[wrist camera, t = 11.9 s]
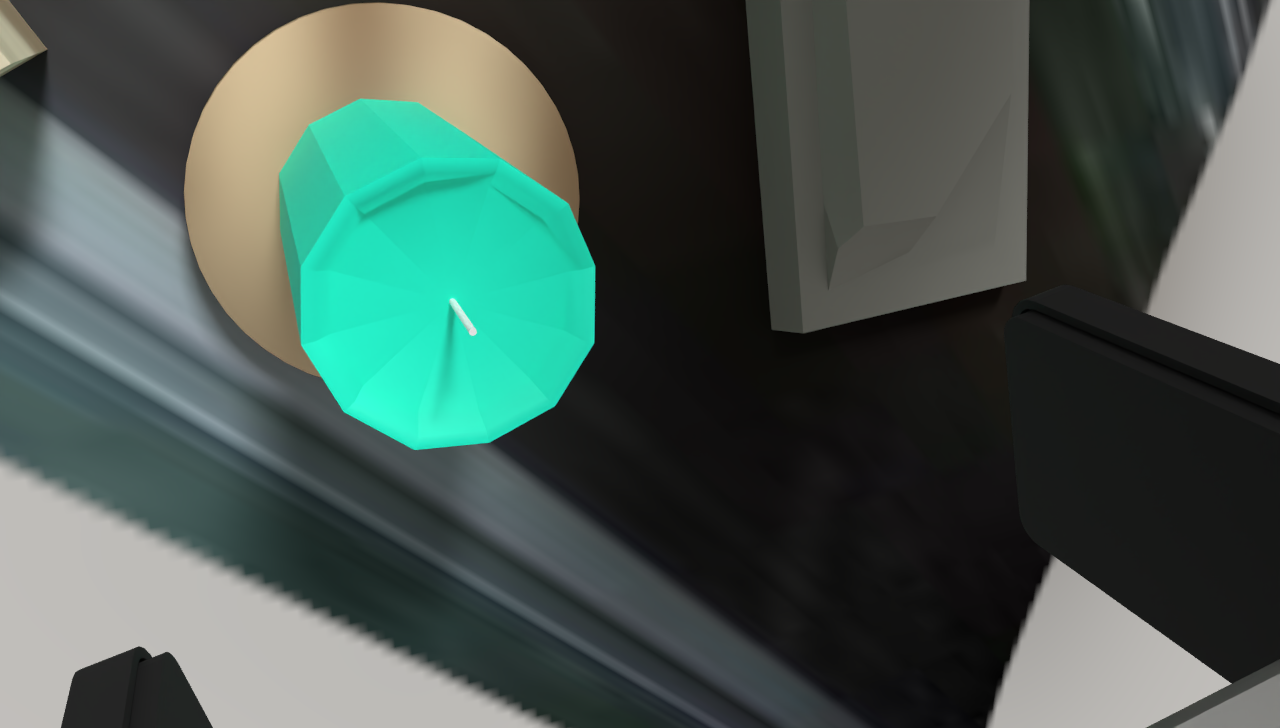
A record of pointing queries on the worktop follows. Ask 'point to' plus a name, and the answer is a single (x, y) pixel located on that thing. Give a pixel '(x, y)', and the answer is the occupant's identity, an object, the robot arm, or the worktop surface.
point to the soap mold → (888, 152)
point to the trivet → (319, 85)
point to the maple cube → (16, 39)
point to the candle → (431, 276)
